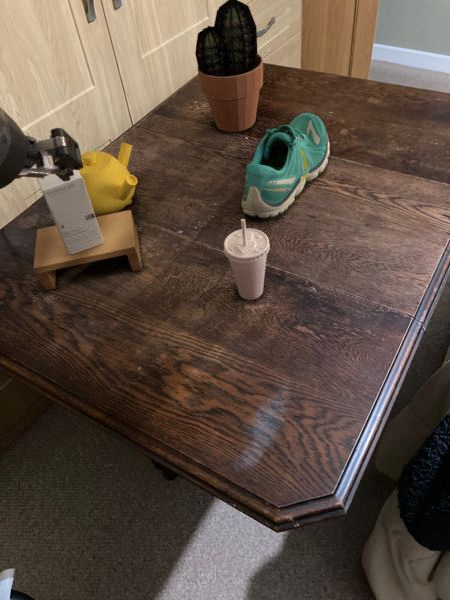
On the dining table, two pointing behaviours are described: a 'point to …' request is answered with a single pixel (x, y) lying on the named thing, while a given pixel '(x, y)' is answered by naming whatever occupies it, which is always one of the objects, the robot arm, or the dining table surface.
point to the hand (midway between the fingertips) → (27, 179)
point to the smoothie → (247, 259)
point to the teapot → (108, 180)
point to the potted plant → (230, 67)
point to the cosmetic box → (71, 212)
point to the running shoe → (285, 165)
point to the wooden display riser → (117, 242)
